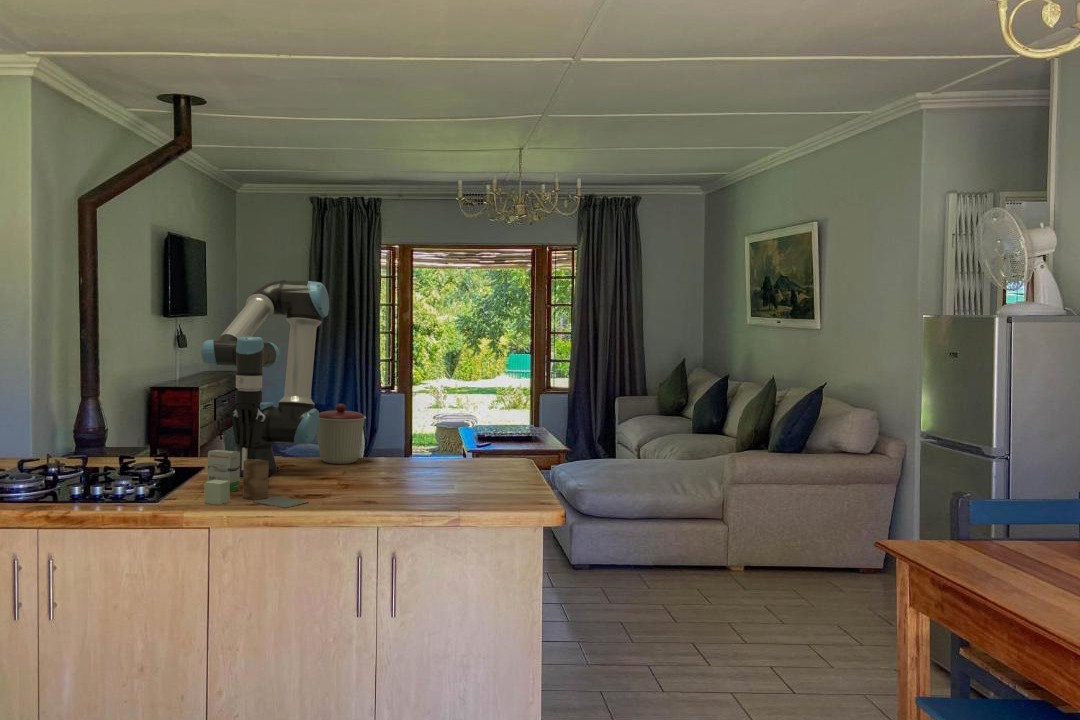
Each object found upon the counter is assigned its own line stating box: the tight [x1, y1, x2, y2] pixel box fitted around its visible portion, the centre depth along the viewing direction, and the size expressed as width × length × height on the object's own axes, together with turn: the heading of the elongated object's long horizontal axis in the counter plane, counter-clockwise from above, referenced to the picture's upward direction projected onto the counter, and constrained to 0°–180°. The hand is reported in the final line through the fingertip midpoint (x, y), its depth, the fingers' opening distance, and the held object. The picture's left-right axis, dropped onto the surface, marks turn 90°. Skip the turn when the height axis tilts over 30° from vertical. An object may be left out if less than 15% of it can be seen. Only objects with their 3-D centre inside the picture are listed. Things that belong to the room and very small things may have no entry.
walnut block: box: [242, 459, 269, 501], centre depth 300 cm, size 5×5×11 cm
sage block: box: [203, 480, 231, 506], centre depth 293 cm, size 5×5×6 cm
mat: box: [252, 496, 307, 509], centre depth 296 cm, size 12×10×1 cm
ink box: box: [206, 449, 241, 493], centre depth 311 cm, size 9×5×12 cm, turn 71°
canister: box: [317, 403, 367, 465], centre depth 368 cm, size 18×18×21 cm
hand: (246, 469), depth 302 cm, fingers closed
